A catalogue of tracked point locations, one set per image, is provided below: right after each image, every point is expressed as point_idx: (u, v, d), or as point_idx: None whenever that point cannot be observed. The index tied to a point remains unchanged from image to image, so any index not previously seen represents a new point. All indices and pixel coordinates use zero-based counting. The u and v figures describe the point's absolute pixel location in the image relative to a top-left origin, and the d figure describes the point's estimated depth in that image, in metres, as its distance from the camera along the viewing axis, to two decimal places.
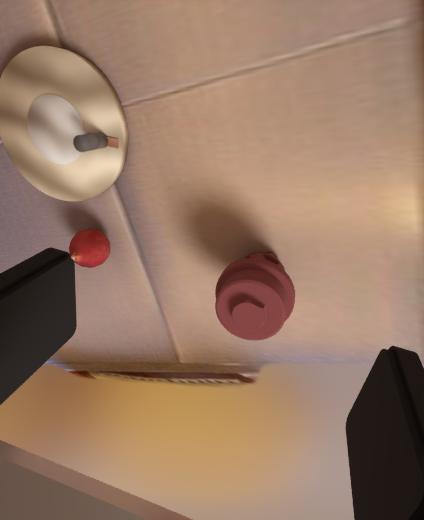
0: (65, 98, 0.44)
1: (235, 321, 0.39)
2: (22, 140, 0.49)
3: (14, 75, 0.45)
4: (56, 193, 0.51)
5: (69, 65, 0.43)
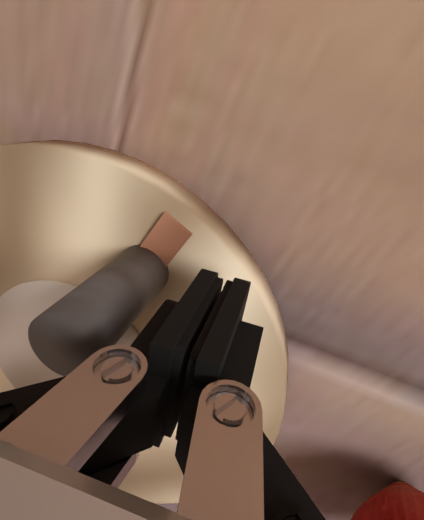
0: (12, 285, 0.15)
1: None
2: None
3: None
4: None
5: None
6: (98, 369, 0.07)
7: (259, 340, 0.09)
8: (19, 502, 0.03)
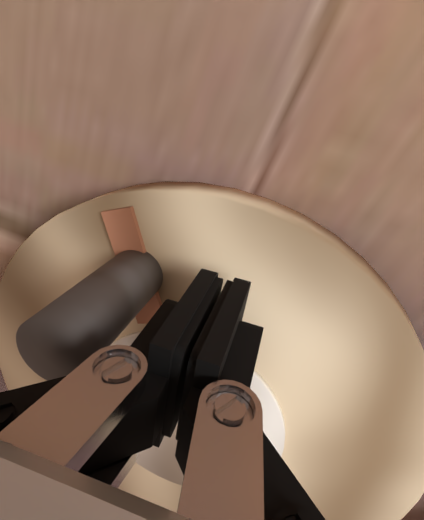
0: None
1: None
2: None
3: None
4: (416, 442, 0.12)
5: (21, 369, 0.17)
6: (98, 369, 0.07)
7: (259, 340, 0.09)
8: (19, 502, 0.03)
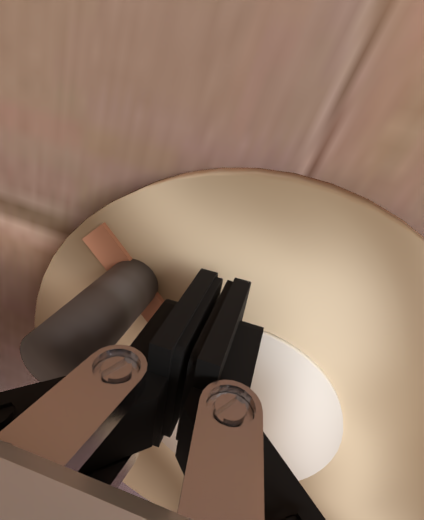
0: None
1: None
2: (350, 489, 0.15)
3: None
4: None
5: None
6: (98, 369, 0.07)
7: (259, 340, 0.09)
8: (19, 502, 0.03)
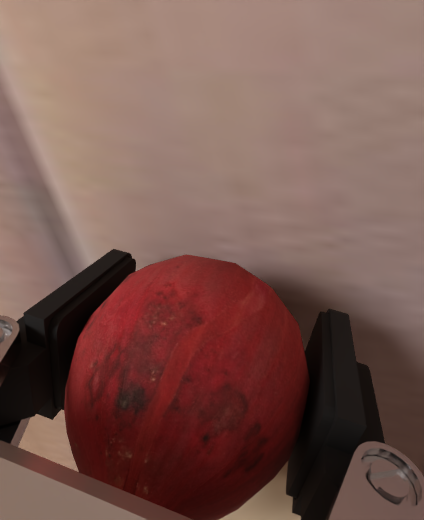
0: None
1: None
2: None
3: None
4: None
5: None
6: None
7: (370, 382, 0.08)
8: (19, 502, 0.03)
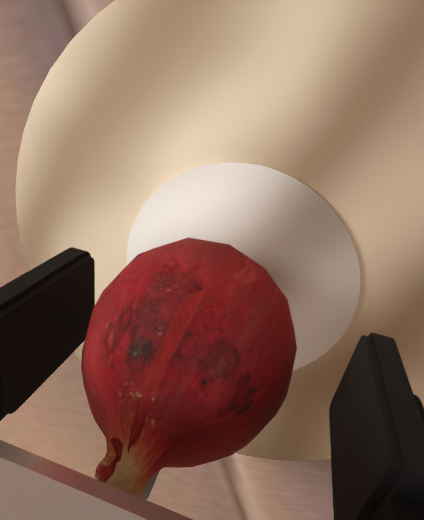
0: (310, 361, 0.14)
1: None
2: (248, 101, 0.10)
3: None
4: (37, 155, 0.13)
5: None
6: None
7: None
8: (19, 502, 0.03)
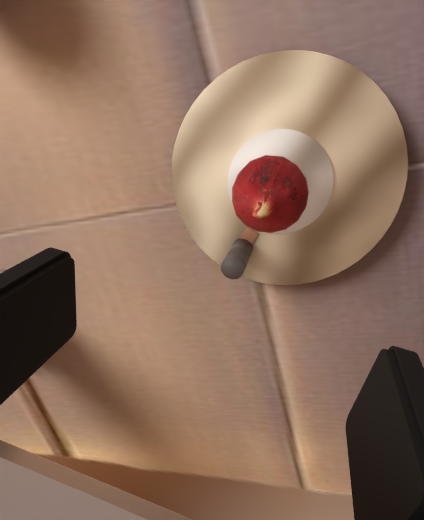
0: (312, 222, 0.30)
1: None
2: (288, 104, 0.27)
3: (384, 149, 0.26)
4: (189, 127, 0.29)
5: (346, 250, 0.30)
6: None
7: None
8: (19, 503, 0.03)
